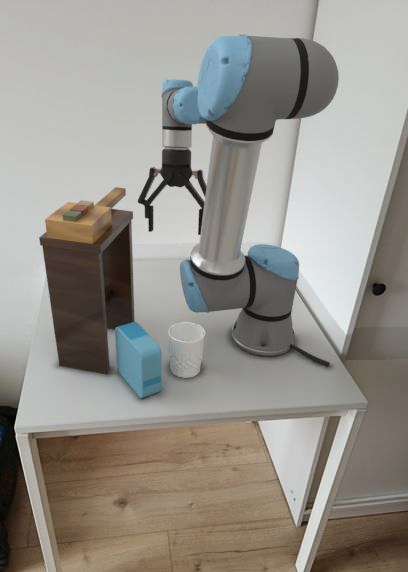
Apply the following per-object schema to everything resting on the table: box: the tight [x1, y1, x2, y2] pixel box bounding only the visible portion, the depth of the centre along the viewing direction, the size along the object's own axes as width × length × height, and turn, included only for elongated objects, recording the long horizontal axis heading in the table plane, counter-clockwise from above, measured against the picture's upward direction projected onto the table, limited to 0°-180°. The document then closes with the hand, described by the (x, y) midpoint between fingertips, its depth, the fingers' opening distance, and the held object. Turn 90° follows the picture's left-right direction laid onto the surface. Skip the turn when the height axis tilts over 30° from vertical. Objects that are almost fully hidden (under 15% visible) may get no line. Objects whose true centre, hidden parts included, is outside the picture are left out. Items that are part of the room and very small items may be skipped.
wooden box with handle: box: [44, 186, 127, 244], centre depth 103 cm, size 28×9×5 cm, turn 168°
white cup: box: [167, 321, 206, 379], centre depth 109 cm, size 8×8×10 cm
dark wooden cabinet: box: [38, 208, 136, 375], centre depth 109 cm, size 19×12×30 cm, turn 168°
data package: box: [114, 321, 162, 399], centre depth 104 cm, size 12×4×12 cm, turn 34°
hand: (175, 232), depth 137 cm, fingers open, 13 cm apart
